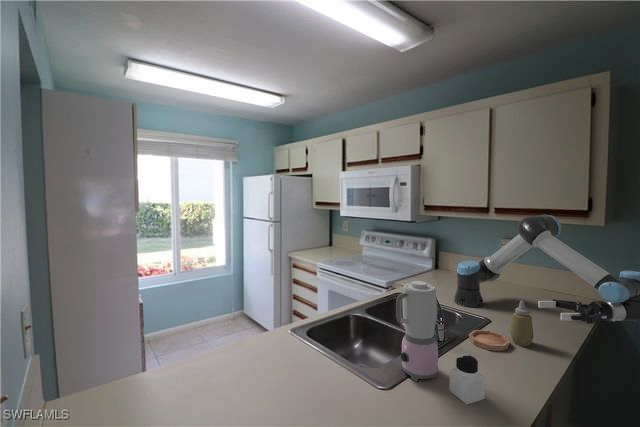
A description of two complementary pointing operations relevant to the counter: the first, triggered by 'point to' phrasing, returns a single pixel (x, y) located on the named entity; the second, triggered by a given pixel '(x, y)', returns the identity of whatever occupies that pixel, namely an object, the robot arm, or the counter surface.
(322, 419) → the counter surface
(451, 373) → the medicine bottle
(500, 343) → the dish
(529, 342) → the squeeze bottle
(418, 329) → the blender
